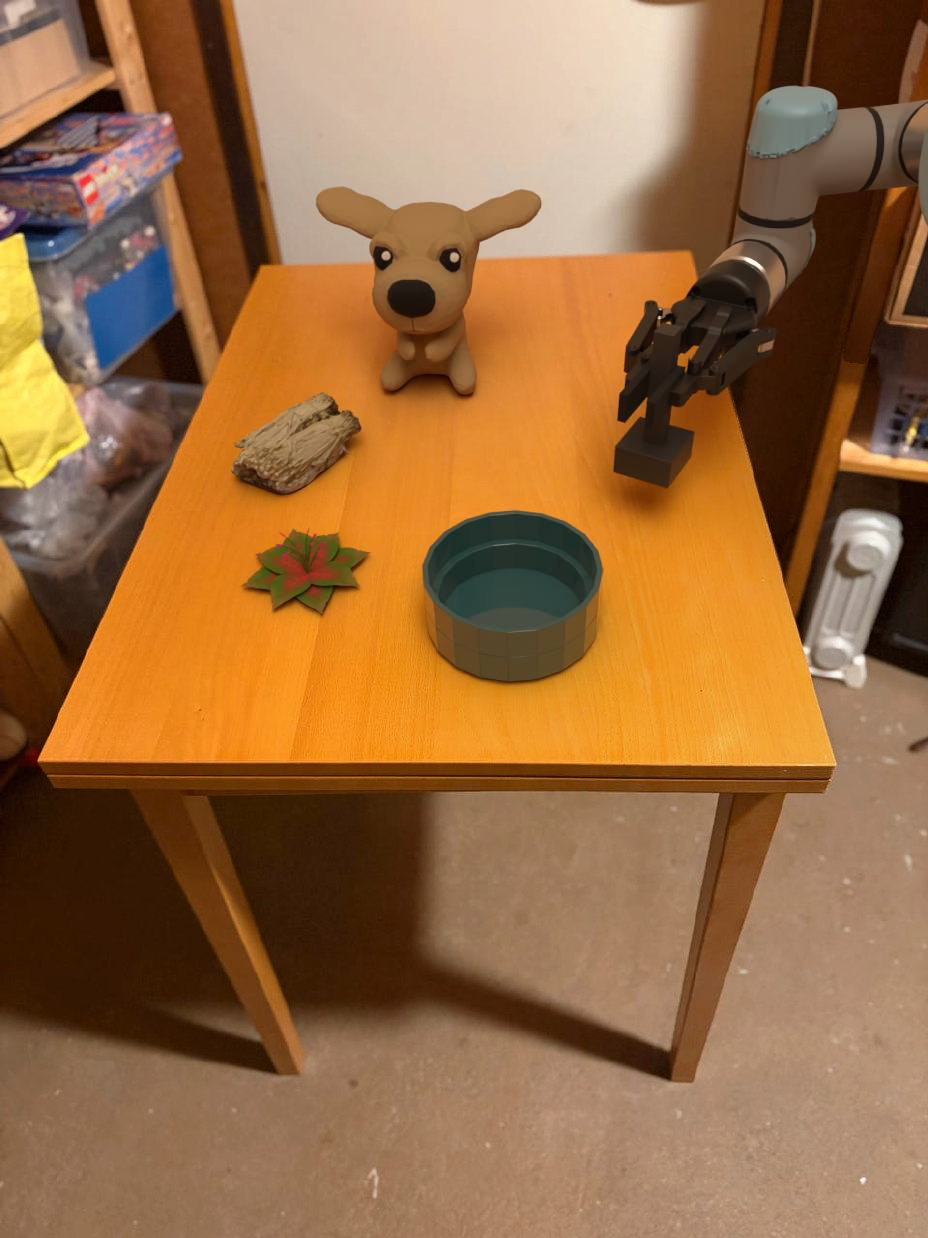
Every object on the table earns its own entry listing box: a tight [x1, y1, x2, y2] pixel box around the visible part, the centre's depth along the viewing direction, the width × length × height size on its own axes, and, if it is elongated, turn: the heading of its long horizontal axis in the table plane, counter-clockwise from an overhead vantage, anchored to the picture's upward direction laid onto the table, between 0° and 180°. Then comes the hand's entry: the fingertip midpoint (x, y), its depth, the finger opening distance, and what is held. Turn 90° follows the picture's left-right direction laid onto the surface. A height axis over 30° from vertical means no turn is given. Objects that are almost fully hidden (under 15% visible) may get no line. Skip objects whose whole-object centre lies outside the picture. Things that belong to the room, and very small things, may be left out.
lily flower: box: [239, 528, 372, 615], centre depth 86 cm, size 12×12×5 cm
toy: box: [315, 186, 542, 395], centre depth 105 cm, size 25×20×20 cm
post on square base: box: [612, 322, 696, 489], centre depth 83 cm, size 6×6×14 cm
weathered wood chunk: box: [229, 391, 362, 495], centre depth 99 cm, size 14×10×5 cm, turn 142°
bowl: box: [421, 509, 604, 682], centre depth 80 cm, size 15×15×6 cm
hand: (636, 411), depth 79 cm, fingers closed on post on square base, 2 cm apart
